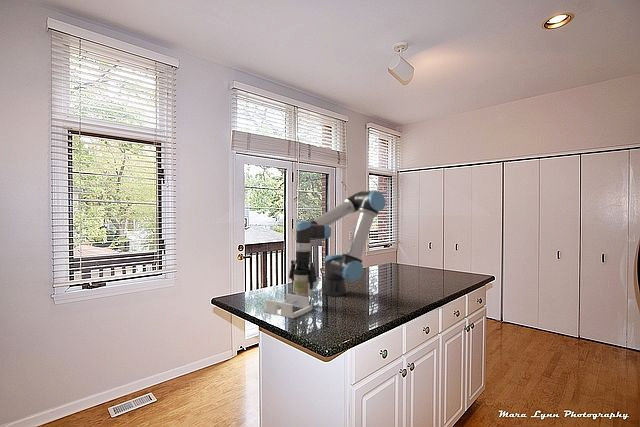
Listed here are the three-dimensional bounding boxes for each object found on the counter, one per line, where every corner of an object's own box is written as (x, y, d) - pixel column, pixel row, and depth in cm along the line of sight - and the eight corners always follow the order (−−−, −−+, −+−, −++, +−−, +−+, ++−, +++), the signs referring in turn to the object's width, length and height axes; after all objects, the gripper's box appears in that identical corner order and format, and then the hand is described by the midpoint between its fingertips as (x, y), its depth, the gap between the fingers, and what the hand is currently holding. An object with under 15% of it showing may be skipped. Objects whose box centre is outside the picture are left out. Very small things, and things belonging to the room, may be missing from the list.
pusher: (286, 304, 178) (286, 293, 178) (308, 308, 171) (309, 297, 171) (267, 311, 165) (267, 299, 165) (291, 316, 158) (291, 304, 158)
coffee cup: (290, 296, 181) (290, 268, 181) (307, 295, 184) (308, 267, 184) (295, 301, 172) (296, 271, 171) (314, 300, 175) (314, 271, 175)
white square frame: (285, 303, 180) (285, 292, 180) (313, 309, 171) (313, 297, 171) (264, 311, 166) (264, 299, 165) (293, 318, 156) (293, 305, 156)
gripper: (282, 249, 180) (281, 292, 180) (316, 253, 169) (315, 298, 169) (290, 248, 186) (290, 289, 187) (324, 251, 175) (323, 295, 175)
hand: (302, 293), depth 178 cm, fingers closed on coffee cup, 9 cm apart
